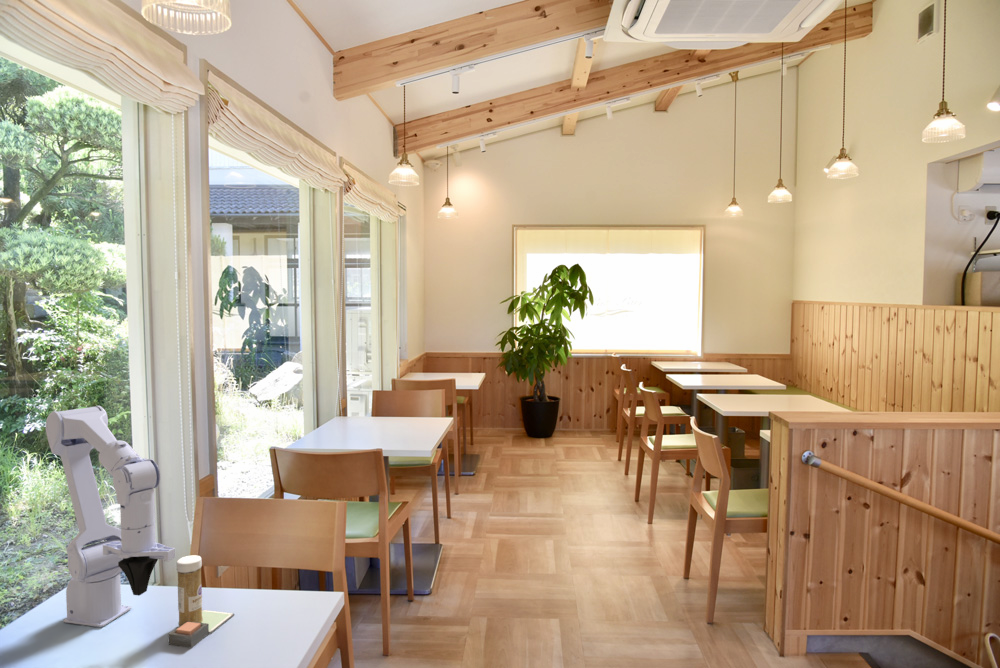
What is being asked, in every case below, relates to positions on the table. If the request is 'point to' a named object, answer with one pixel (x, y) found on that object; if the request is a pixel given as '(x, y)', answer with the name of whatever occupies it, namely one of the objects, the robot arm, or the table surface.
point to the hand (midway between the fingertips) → (140, 592)
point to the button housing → (188, 636)
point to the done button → (188, 628)
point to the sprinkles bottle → (189, 589)
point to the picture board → (215, 619)
